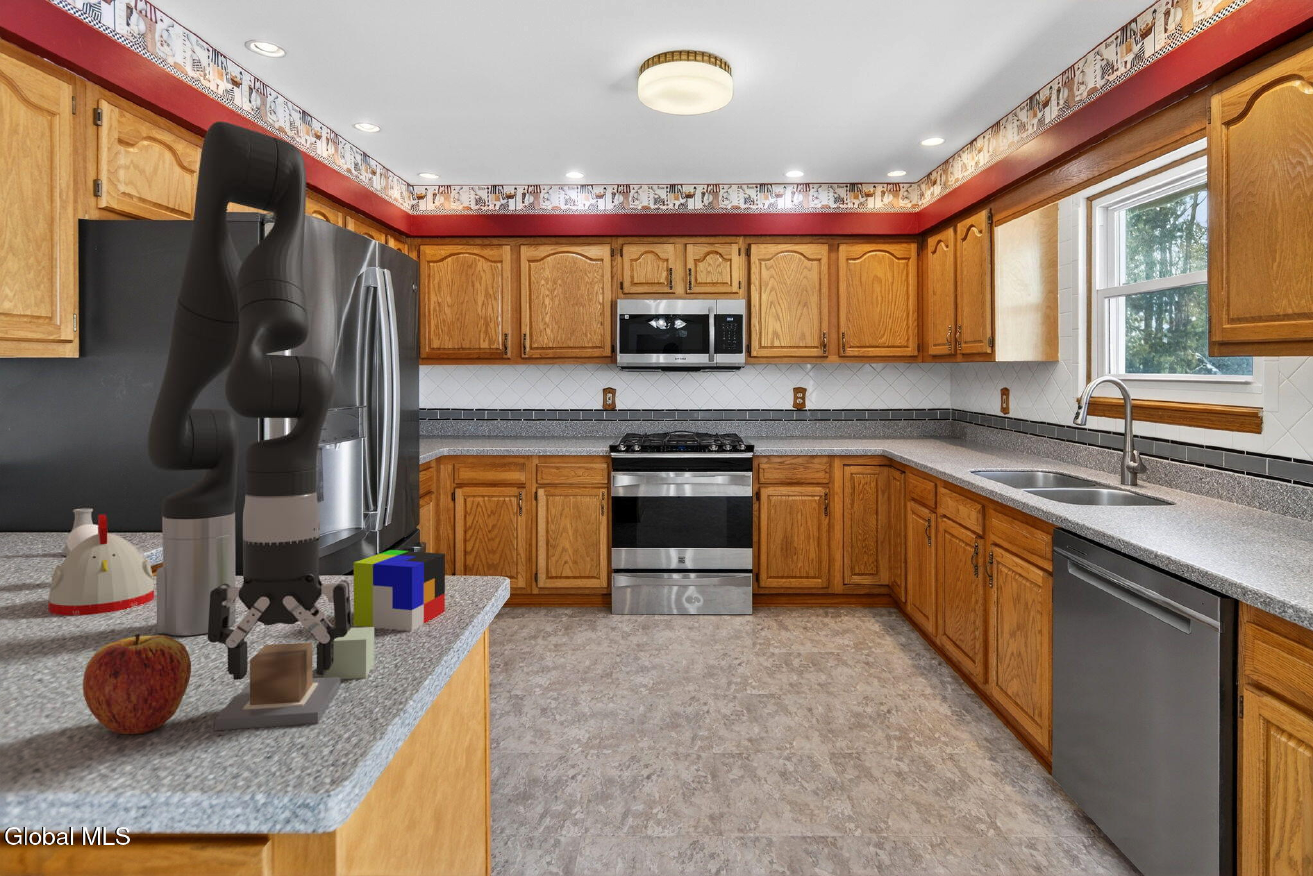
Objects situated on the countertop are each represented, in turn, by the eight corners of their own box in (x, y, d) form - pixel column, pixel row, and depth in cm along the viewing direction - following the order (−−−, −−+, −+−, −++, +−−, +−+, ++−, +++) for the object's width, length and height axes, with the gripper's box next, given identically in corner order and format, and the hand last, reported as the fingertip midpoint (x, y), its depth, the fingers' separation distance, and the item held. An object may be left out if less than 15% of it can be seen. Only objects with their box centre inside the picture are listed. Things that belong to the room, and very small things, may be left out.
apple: (68, 755, 67) (66, 653, 67) (100, 716, 75) (98, 626, 75) (180, 739, 71) (179, 642, 70) (198, 704, 79) (197, 617, 79)
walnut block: (250, 705, 76) (249, 660, 75) (266, 687, 81) (265, 644, 80) (299, 702, 77) (299, 657, 76) (312, 684, 82) (312, 642, 81)
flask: (53, 556, 150) (52, 511, 149) (86, 550, 157) (85, 506, 157) (81, 558, 149) (80, 512, 148) (113, 551, 156) (112, 507, 155)
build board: (215, 730, 73) (215, 717, 73) (250, 691, 82) (250, 680, 82) (317, 723, 75) (317, 710, 75) (340, 686, 85) (340, 675, 84)
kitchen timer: (48, 621, 107) (47, 525, 106) (48, 601, 117) (47, 513, 117) (158, 605, 116) (157, 517, 116) (149, 588, 127) (149, 507, 126)
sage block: (323, 680, 86) (323, 641, 86) (333, 665, 91) (333, 628, 91) (366, 678, 87) (366, 639, 87) (374, 664, 92) (374, 627, 92)
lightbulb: (103, 577, 134) (102, 520, 133) (114, 582, 130) (114, 524, 130) (63, 583, 129) (62, 524, 128) (73, 588, 125) (72, 528, 125)
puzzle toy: (411, 631, 106) (412, 566, 105) (353, 626, 108) (353, 562, 107) (444, 613, 115) (445, 553, 115) (390, 608, 117) (390, 549, 117)
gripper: (196, 541, 73) (197, 692, 73) (341, 538, 76) (341, 684, 76) (225, 528, 80) (226, 666, 81) (356, 526, 83) (356, 660, 84)
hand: (282, 675), depth 78 cm, fingers open, 8 cm apart
